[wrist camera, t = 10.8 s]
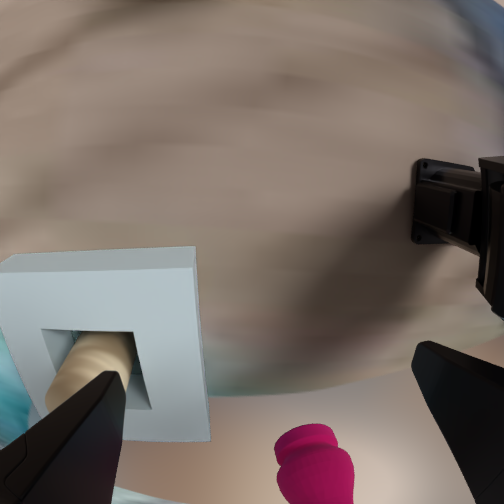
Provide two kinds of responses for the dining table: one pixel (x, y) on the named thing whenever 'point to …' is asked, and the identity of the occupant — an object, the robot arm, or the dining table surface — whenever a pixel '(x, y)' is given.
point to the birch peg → (92, 363)
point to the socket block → (114, 329)
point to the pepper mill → (314, 467)
